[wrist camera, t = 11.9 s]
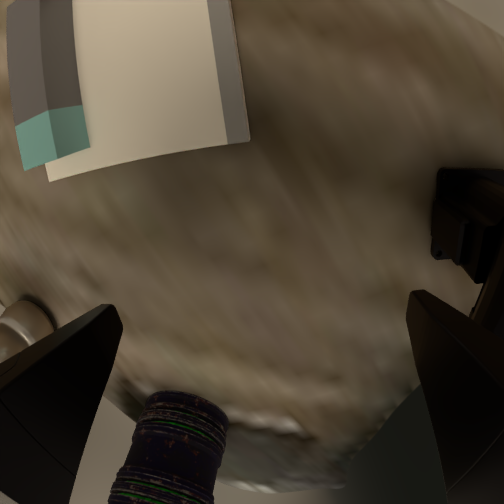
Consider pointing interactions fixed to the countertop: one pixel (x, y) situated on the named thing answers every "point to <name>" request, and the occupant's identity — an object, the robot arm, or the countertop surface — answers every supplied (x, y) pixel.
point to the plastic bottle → (22, 328)
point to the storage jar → (173, 452)
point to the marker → (44, 81)
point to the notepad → (154, 80)
